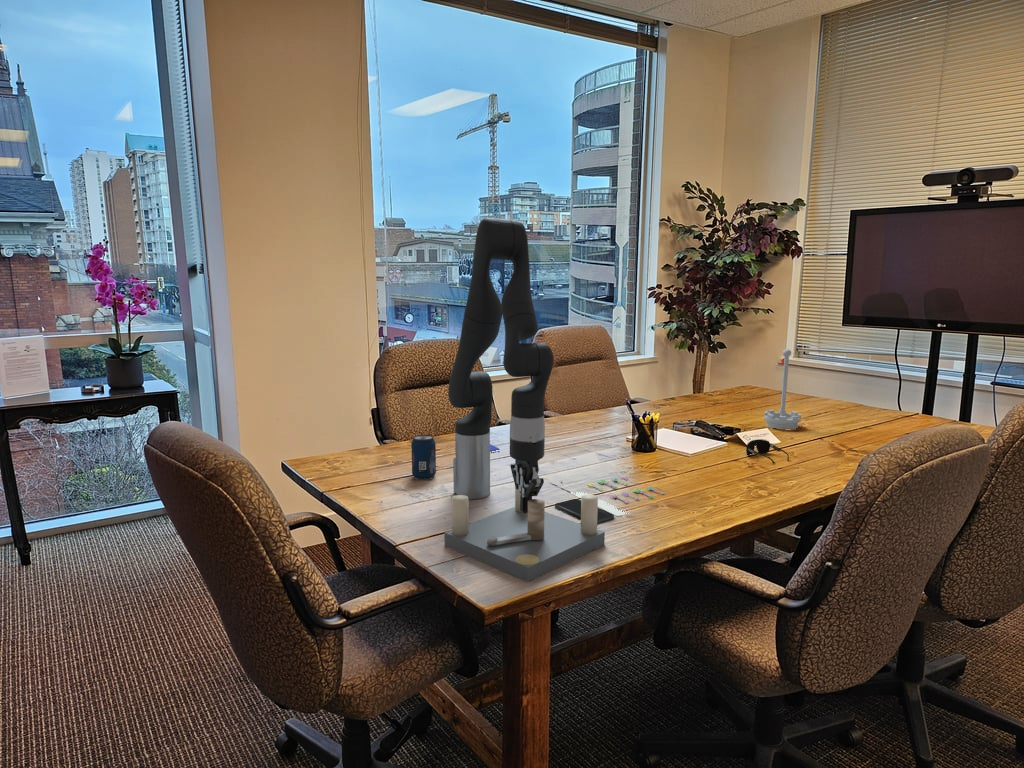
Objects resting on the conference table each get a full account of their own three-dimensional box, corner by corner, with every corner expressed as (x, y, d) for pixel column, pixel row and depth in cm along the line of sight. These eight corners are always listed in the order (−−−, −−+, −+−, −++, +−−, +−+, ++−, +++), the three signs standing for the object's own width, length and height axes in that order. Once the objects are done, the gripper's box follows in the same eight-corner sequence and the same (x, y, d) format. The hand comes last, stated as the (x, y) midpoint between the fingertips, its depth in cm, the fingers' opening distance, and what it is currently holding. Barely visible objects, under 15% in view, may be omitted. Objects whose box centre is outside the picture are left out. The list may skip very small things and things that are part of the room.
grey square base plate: (444, 545, 149) (443, 497, 147) (522, 515, 167) (522, 472, 165) (527, 582, 132) (528, 528, 130) (604, 544, 150) (605, 497, 148)
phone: (592, 522, 161) (552, 504, 173) (592, 526, 161) (552, 508, 173) (616, 515, 165) (576, 498, 177) (616, 519, 165) (576, 502, 178)
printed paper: (549, 483, 192) (549, 478, 192) (630, 469, 207) (631, 465, 207) (616, 517, 167) (617, 511, 166) (704, 498, 182) (704, 493, 182)
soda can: (413, 473, 200) (412, 434, 198) (437, 473, 200) (436, 434, 198) (410, 480, 194) (409, 440, 191) (434, 480, 194) (434, 440, 191)
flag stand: (806, 430, 253) (812, 351, 248) (771, 431, 253) (777, 351, 247) (791, 422, 266) (797, 347, 260) (758, 422, 265) (763, 347, 260)
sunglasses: (765, 451, 225) (767, 437, 224) (793, 465, 215) (796, 451, 213) (741, 455, 221) (743, 441, 219) (768, 470, 210) (770, 455, 209)
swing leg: (490, 547, 140) (490, 511, 138) (484, 541, 143) (484, 505, 142) (547, 538, 144) (547, 503, 143) (540, 532, 148) (540, 498, 146)
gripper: (499, 429, 150) (498, 503, 153) (523, 445, 138) (522, 525, 141) (530, 426, 153) (529, 499, 156) (556, 441, 141) (554, 520, 144)
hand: (526, 511), depth 149 cm, fingers closed
